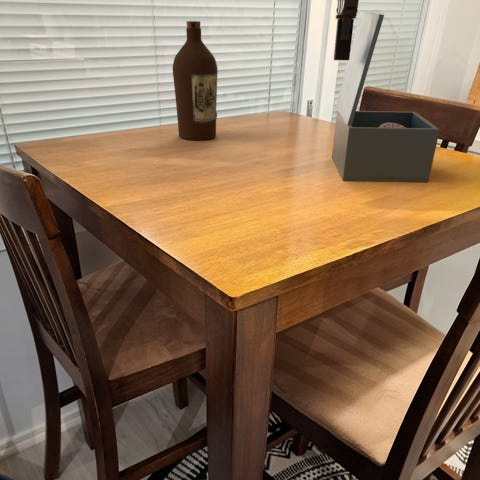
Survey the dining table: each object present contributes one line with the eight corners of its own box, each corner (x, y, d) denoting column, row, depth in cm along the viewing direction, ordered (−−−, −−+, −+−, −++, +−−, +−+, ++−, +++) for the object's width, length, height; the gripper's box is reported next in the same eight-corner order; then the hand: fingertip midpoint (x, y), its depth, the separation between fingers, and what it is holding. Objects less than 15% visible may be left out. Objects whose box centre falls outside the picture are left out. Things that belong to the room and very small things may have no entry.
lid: (365, 12, 95) (361, 11, 95) (384, 15, 81) (379, 14, 81) (338, 108, 105) (335, 107, 105) (351, 125, 91) (347, 124, 91)
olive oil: (168, 134, 126) (161, 20, 113) (202, 129, 132) (199, 19, 118) (191, 143, 119) (186, 22, 106) (226, 137, 125) (226, 21, 111)
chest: (406, 158, 110) (415, 111, 105) (428, 182, 96) (440, 129, 91) (331, 157, 110) (336, 110, 105) (342, 180, 96) (349, 127, 91)
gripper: (330, -100, 85) (317, 56, 98) (341, -114, 74) (325, 63, 87) (374, -99, 85) (355, 56, 98) (391, -113, 74) (368, 64, 87)
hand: (341, 59), depth 92 cm, fingers closed
